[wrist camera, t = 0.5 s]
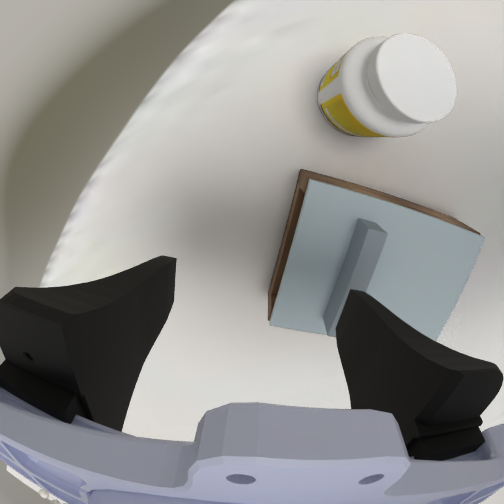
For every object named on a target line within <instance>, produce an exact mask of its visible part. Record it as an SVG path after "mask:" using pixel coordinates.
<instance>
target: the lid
mask: <svg viewBox="0 0 504 504" xmlns="http://www.w3.org/2000/svg"><path fill="white" fill-rule="evenodd" d="M483 241H484V237H483V236H481V235H479V234H477V233H474V232H472V231H469V230H467V229H464V228H462V227H459V226H457V225H454V224H452V223H449V222H446V221H444V220H441V219H438V218H436V217H433V216H430V215H427V214H425V213H422V212H419V211H416V210H413V209H410V208H407V207H404V206H401V205H398V204H395V203H392V202H389V201H386V200H383V199H380V198H376V197H373V196H370V195H367V194H363V193H360V192H357V191H353V190H350V189H346V188H343V187H339V186H336V185H332V184H328V183H325V182H321V181H317V180H313V179H309V181H308V185H307V189H306V193H305V197H304V201H303V205H302V208H301V212H300V216H299V220H298V223H297V227H296V231H295V234H294V238H293V242H292V245H291V249H290V252H289V256H288V259H287V263H286V266H285V270H284V273H283V277H282V280H281V284H280V287H279V291H278V294H277V297H276V301H275V304H274V308H273V311H272V314H271V318H270V326H275V327H281V328H286V329H292V330H298V331H303V332H310V333H316V334H322V335H327V336H332V337H336V329H335V328H336V326H337V323H338V321H339V318H340V315H341V313H342V310H343V307H344V305H345V302H346V299H347V297H348V294H349V291H350V289H353V290H360V291H364V292H366V293H368V294H369V295H371V296H372V297H373V298H375V299H376V300H377V301H379V302H380V303H381V304H382V305H384V306H385V307H386V308H387V309H389V310H390V311H391V312H393V313H394V314H395V315H396V316H398V317H399V318H400V319H402V320H403V321H404V322H406V323H407V324H409V325H410V326H411V327H413V328H414V329H416V330H417V331H419V332H420V333H422V334H424V335H425V336H427V337H429V338H430V339H432V340H434V341H436V339H437V338H438V336H439V334H440V333H441V331H442V329H443V327H444V325H445V324H446V322H447V320H448V318H449V316H450V314H451V312H452V311H453V309H454V307H455V305H456V303H457V301H458V299H459V297H460V295H461V293H462V291H463V288H464V286H465V284H466V282H467V280H468V277H469V275H470V273H471V271H472V268H473V266H474V264H475V261H476V259H477V256H478V254H479V251H480V249H481V246H482V243H483Z"/></svg>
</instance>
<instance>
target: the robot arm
mask: <svg viewBox="0 0 504 504" xmlns="http://www.w3.org/2000/svg"><path fill="white" fill-rule="evenodd" d="M176 259H177V258H173V257H167V256H159V257H156V258H154V259H151V260H149V261H147V262H144V263H142V264H140V265H137V266H135V267H133V268H130V269H128V270H125V271H123V272H120V273H117V274H115V275H112V276H109V277H106V278H103V279H99V280H95V281H91V282H87V283H81V284H75V285H70V286H62V287H48V288H27V287H15V288H13V289H12V290H11V291H10V292H9V293H8V294H6V295H5V296H4V297H3V298H1V299H0V347H1V349H2V352H3V354H4V356H5V361H4V362H3V363H2V364H1V365H0V459H1V460H2V461H3V462H5V463H6V464H7V465H9V466H10V467H11V468H13V469H14V470H15V471H17V472H18V473H20V474H21V475H23V476H24V477H26V478H27V479H28V480H30V481H31V482H33V483H34V484H36V485H38V486H39V487H41V488H42V489H44V490H46V491H47V492H49V493H51V494H52V495H54V496H56V497H57V498H59V499H61V500H63V501H65V502H66V503H68V504H479V503H481V502H483V501H484V500H485V499H487V498H488V497H489V496H491V495H493V494H494V493H495V492H497V491H498V490H499V489H500V488H502V487H503V486H504V424H500V425H497V426H494V427H490V428H488V429H486V430H484V431H483V432H482V433H481V431H480V429H479V427H478V426H481V424H482V422H483V421H482V419H481V417H480V415H481V414H482V413H483V411H484V410H485V409H486V408H487V407H488V405H489V404H490V403H491V402H492V400H493V399H494V398H495V396H496V395H497V394H498V392H499V390H500V388H501V386H502V382H503V374H502V372H501V371H500V369H499V368H498V367H497V365H496V364H494V363H491V362H488V361H484V360H480V359H477V358H473V357H470V356H467V355H465V354H462V353H459V352H457V351H455V350H452V349H450V348H448V347H446V346H444V345H442V344H440V343H438V342H436V341H434V340H432V339H430V338H429V337H427V336H425V335H424V334H422V333H420V332H419V331H417V330H416V329H414V328H413V327H411V326H410V325H409V324H407V323H406V322H404V321H403V320H402V319H400V318H399V317H398V316H396V315H395V314H394V313H393V312H391V311H390V310H389V309H387V308H386V307H385V306H384V305H382V304H381V303H380V302H379V301H377V300H376V299H375V298H373V297H372V296H371V295H369V294H368V293H366V292H364V291H360V290H353V289H350V291H349V294H348V297H347V299H346V302H345V305H344V307H343V310H342V313H341V315H340V318H339V321H338V323H337V326H336V328H335V329H336V339H337V347H338V351H339V355H340V359H341V363H342V367H343V370H344V374H345V378H346V382H347V385H348V390H349V395H350V401H351V409H327V408H309V407H296V406H285V405H276V404H267V403H259V402H254V403H229V404H226V405H224V406H221V407H218V408H215V409H212V410H209V411H207V412H206V413H205V414H204V416H203V417H202V419H201V420H200V422H199V423H198V427H197V431H196V436H195V440H194V442H186V441H171V440H160V439H150V438H142V437H135V436H132V435H129V434H126V433H123V432H122V428H123V424H124V420H125V417H126V414H127V410H128V407H129V403H130V400H131V397H132V394H133V391H134V388H135V385H136V382H137V380H138V377H139V374H140V372H141V369H142V366H143V364H144V362H145V360H146V358H147V356H148V354H149V352H150V350H151V348H152V346H153V345H154V343H155V341H156V339H157V337H158V335H159V334H160V332H161V330H162V328H163V326H164V324H165V323H166V321H167V318H168V316H169V313H170V311H171V308H172V305H173V302H174V290H175V273H176Z"/></svg>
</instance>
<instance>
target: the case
mask: <svg viewBox="0 0 504 504" xmlns="http://www.w3.org/2000/svg"><path fill="white" fill-rule="evenodd" d="M309 179H313V180H317V181H321V182H325V183H328V184H332V185H336V186H339V187H343V188H346V189H350V190H353V191H357V192H360V193H363V194H367V195H370V196H373V197H376V198H380V199H383V200H386V201H389V202H392V203H395V204H398V205H401V206H404V207H407V208H410V209H413V210H416V211H419V212H422V213H425V214H427V215H430V216H433V217H436V218H438V219H441V220H444V221H446V222H449V223H452V224H454V225H457V226H459V227H462V228H464V229H467V230H469V231H472V232H474V233H477V234H479V235H480V233H479V232H477V231H476V230H474V229H472V228H471V227H469V226H467V225H465V224H464V223H462V222H460V221H458V220H457V219H455V218H452V217H450V216H447V215H445V214H442V213H440V212H437V211H434V210H432V209H429V208H426V207H423V206H421V205H418V204H415V203H412V202H410V201H407V200H404V199H401V198H398V197H395V196H392V195H389V194H386V193H383V192H380V191H377V190H373V189H370V188H367V187H364V186H360V185H357V184H354V183H350V182H347V181H344V180H340V179H336V178H333V177H329V176H326V175H322V174H318V173H314V172H311V171H307V170H303V169H300V173H299V177H298V181H297V185H296V189H295V193H294V197H293V201H292V205H291V209H290V213H289V217H288V221H287V225H286V228H285V232H284V236H283V240H282V244H281V247H280V251H279V255H278V259H277V262H276V266H275V270H274V273H273V277H272V281H271V284H270V288H269V292H268V320H269V321H270V318H271V314H272V311H273V308H274V304H275V301H276V297H277V294H278V291H279V287H280V284H281V280H282V277H283V273H284V270H285V266H286V263H287V259H288V256H289V252H290V249H291V245H292V242H293V238H294V234H295V231H296V227H297V223H298V220H299V216H300V212H301V208H302V205H303V201H304V197H305V193H306V189H307V185H308V181H309Z"/></svg>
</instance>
